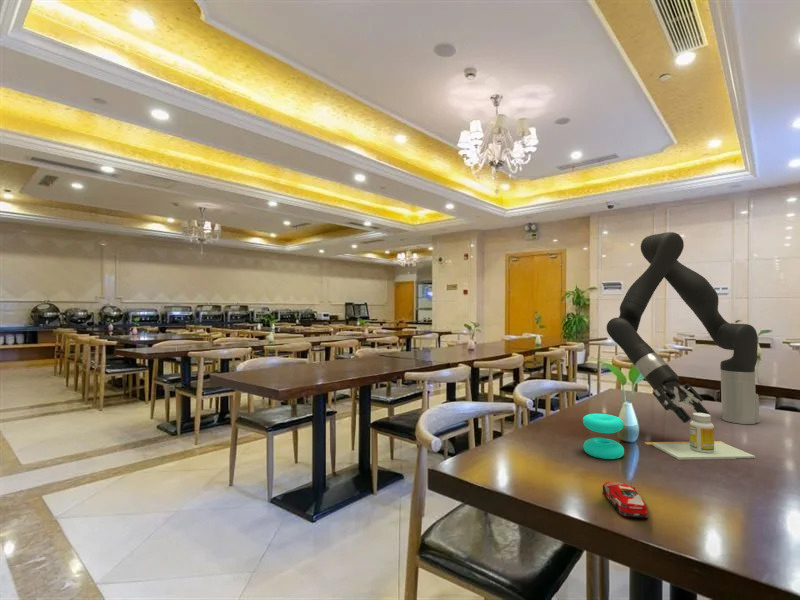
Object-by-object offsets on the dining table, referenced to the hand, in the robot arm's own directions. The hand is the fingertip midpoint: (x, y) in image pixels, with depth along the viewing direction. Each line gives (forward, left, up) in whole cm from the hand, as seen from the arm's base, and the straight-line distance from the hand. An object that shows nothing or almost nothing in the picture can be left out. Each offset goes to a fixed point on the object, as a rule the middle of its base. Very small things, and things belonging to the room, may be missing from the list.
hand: (697, 419), depth 115 cm
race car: (+36, +30, -9) cm, 48 cm away
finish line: (0, -6, -9) cm, 11 cm away
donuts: (+27, +1, -9) cm, 28 cm away
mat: (0, +1, -9) cm, 9 cm away
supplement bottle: (0, +1, -8) cm, 8 cm away
